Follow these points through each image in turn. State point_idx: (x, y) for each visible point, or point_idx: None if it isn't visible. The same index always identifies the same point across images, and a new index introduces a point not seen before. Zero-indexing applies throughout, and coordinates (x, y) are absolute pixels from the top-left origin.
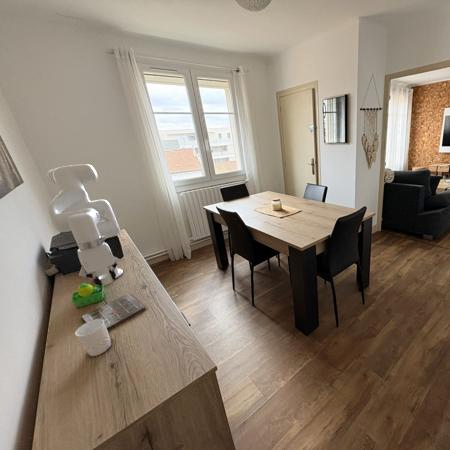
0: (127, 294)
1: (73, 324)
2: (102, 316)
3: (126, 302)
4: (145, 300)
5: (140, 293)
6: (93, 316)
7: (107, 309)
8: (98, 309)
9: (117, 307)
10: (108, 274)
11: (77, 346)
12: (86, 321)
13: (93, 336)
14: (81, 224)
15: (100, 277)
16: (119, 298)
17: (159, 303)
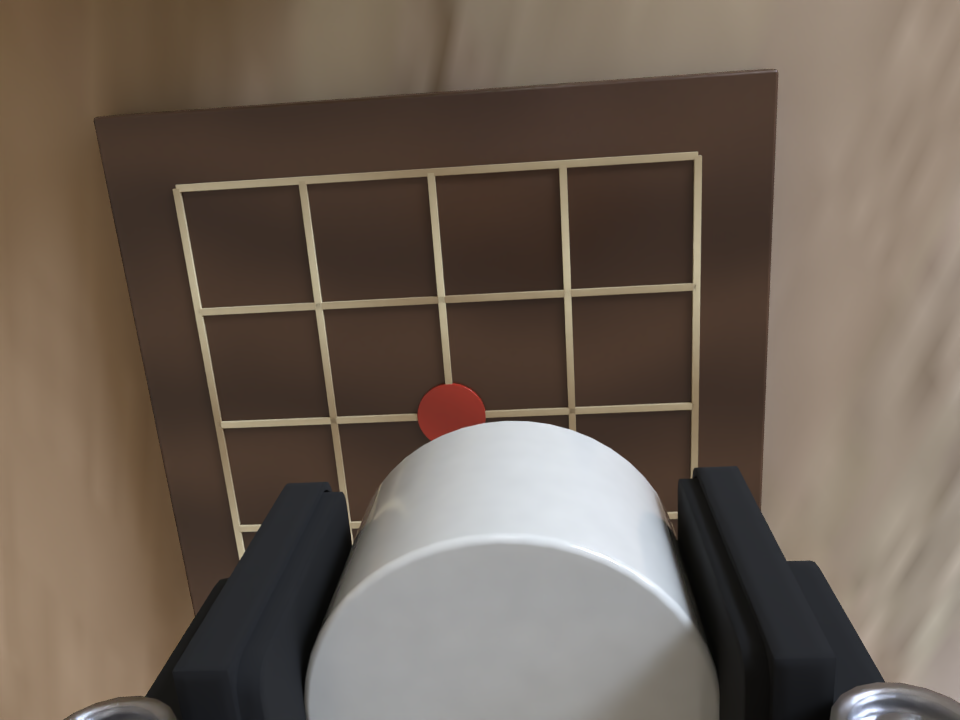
0: (756, 84)
1: (10, 158)
2: (318, 397)
3: (648, 335)
4: (846, 447)
5: (907, 174)
6: (226, 282)
7: (403, 274)
8: (305, 143)
9: (517, 352)
10: (648, 716)
11: (60, 638)
12: (143, 324)
13: None
14: None
15: (377, 697)
16: (621, 98)
17: (911, 669)
